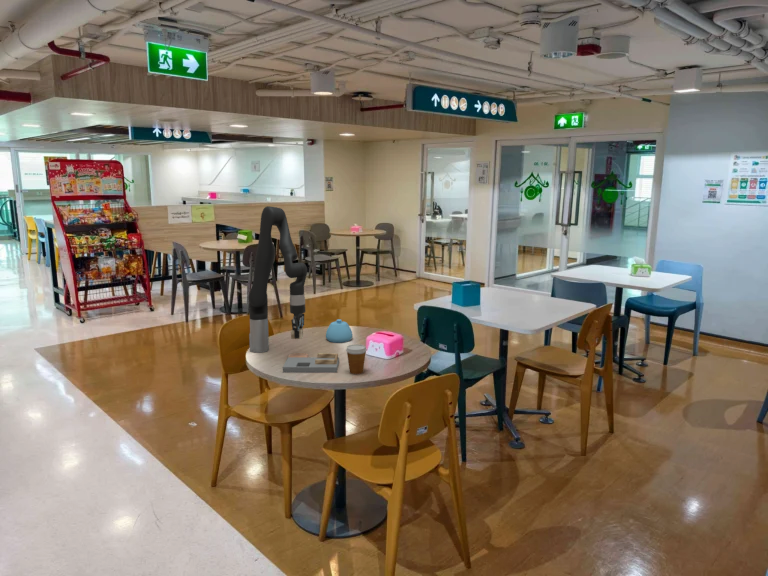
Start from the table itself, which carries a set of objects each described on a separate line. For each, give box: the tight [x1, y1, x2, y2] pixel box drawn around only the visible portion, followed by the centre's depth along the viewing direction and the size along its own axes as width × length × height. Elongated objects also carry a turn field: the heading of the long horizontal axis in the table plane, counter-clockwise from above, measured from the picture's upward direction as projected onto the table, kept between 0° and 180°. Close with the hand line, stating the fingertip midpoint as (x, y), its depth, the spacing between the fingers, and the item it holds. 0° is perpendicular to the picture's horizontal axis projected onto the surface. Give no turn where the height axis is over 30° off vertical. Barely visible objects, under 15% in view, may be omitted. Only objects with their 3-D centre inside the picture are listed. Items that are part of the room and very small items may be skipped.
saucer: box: [287, 352, 309, 358], centre depth 282 cm, size 10×10×1 cm
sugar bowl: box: [325, 318, 353, 344], centre depth 314 cm, size 15×15×12 cm
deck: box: [282, 356, 340, 374], centre depth 267 cm, size 25×15×2 cm, turn 90°
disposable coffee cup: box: [345, 344, 368, 375], centre depth 260 cm, size 10×10×12 cm
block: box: [290, 328, 304, 340], centre depth 280 cm, size 5×5×4 cm
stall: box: [315, 353, 339, 364], centre depth 269 cm, size 10×10×2 cm
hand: (298, 336), depth 280 cm, fingers closed on block, 5 cm apart
